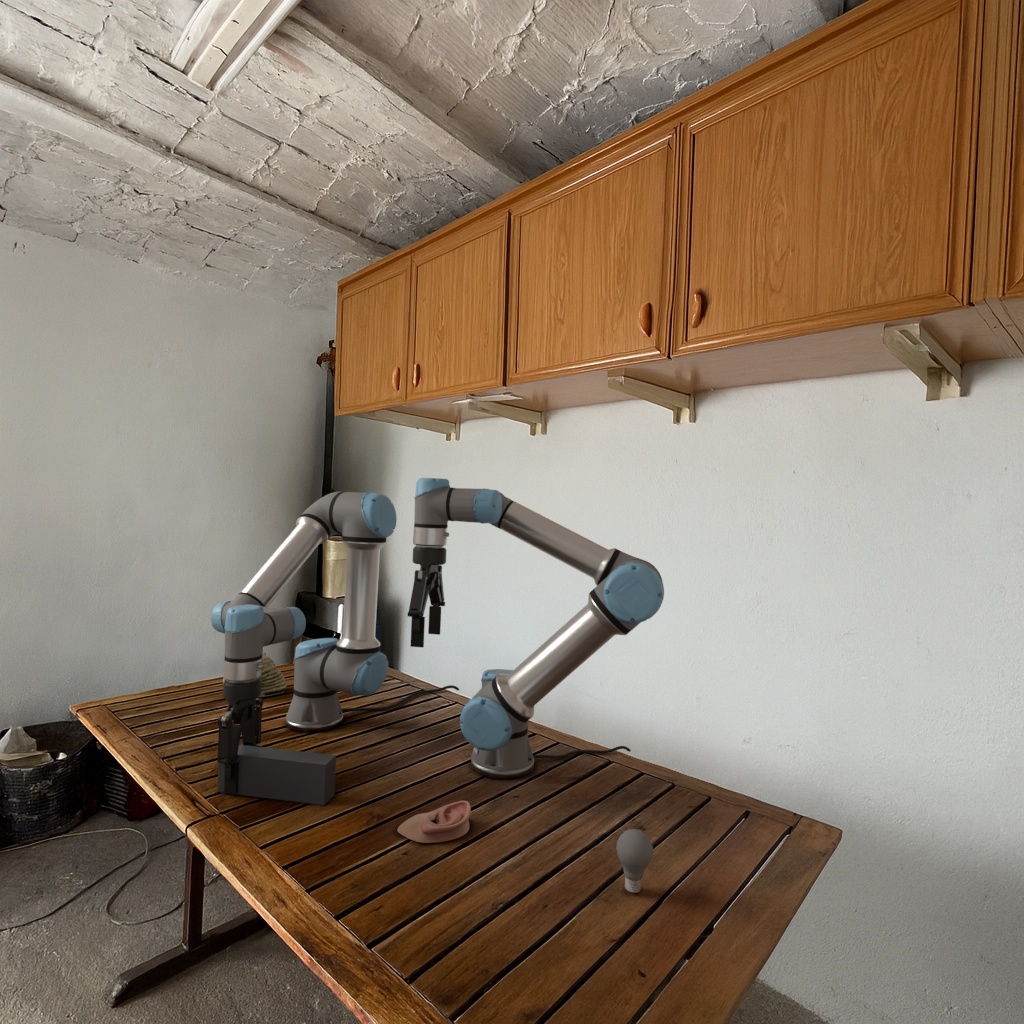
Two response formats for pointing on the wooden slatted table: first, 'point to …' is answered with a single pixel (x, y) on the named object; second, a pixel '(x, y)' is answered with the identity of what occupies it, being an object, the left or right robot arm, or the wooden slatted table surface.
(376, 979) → the wooden slatted table surface
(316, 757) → the bar
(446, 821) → the anatomical model
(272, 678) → the fossil
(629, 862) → the light bulb
